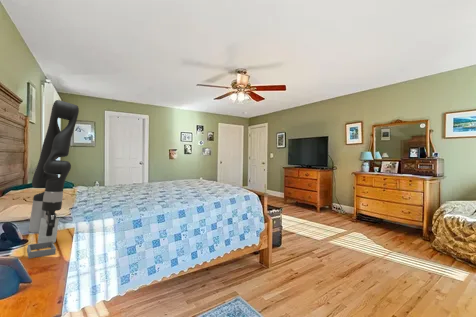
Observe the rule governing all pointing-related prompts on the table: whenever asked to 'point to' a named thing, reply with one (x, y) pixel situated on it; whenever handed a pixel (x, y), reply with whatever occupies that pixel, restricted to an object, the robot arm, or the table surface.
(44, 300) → the table surface
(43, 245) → the frame
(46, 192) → the robot arm
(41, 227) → the skincare box
